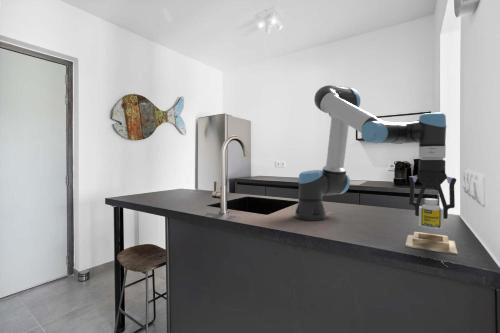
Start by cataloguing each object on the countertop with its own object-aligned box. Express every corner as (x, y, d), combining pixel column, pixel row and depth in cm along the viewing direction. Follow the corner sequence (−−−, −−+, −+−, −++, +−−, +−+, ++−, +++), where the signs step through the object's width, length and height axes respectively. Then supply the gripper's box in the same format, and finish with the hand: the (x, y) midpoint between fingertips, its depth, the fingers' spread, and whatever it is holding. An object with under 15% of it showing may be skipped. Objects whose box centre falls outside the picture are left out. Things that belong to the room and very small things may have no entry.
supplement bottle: (421, 228, 91) (421, 199, 91) (421, 224, 96) (421, 197, 95) (441, 230, 88) (441, 200, 88) (439, 226, 93) (440, 198, 93)
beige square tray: (405, 246, 90) (405, 239, 90) (408, 236, 102) (408, 229, 102) (457, 254, 83) (457, 246, 82) (454, 242, 94) (454, 235, 94)
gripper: (399, 159, 93) (399, 225, 94) (467, 159, 83) (466, 233, 84) (401, 159, 99) (401, 221, 100) (465, 159, 89) (463, 228, 90)
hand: (430, 226), depth 92 cm, fingers closed on supplement bottle, 5 cm apart
